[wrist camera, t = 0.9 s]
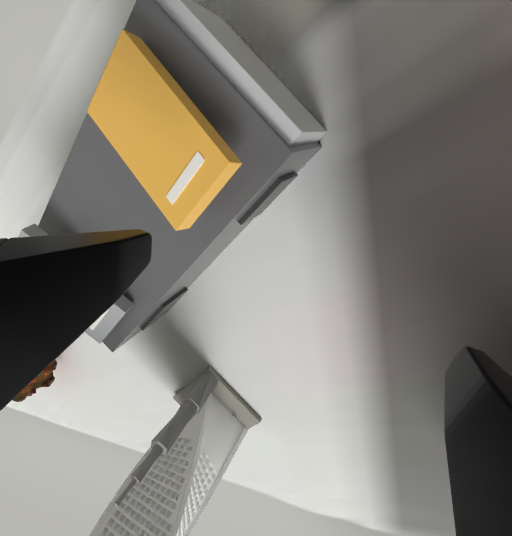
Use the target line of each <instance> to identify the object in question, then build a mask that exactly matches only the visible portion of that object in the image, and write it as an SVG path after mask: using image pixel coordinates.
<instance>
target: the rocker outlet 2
mask: <svg viewBox="0 0 512 536" xmlns="http://www.w3.org/2000/svg"><path fill="white" fill-rule="evenodd" d="M87 112H88V114H89V115H90V116H91V118H92V119H93V120H94V122H95V123H96V124H97V126H98V127H99V128H100V130H101V131H102V132H103V134H104V135H105V136H106V138H107V139H108V140H109V142H110V143H111V145H112V146H113V147H114V149H115V150H116V151H117V153H118V154H119V155H120V157H121V158H122V159H123V161H124V162H125V163H126V165H127V166H128V167H129V169H130V170H131V171H132V173H133V174H134V175H135V177H136V178H137V179H138V181H139V182H140V184H141V185H142V186H143V188H144V189H145V190H146V192H147V193H148V194H149V196H150V197H151V198H152V200H153V201H154V202H155V204H156V205H157V206H158V208H159V209H160V210H161V212H162V213H163V214H164V216H165V217H166V218H167V220H168V221H169V223H170V224H171V225H172V227H173V228H174V229H175V231H178V230H183V229H188V228H190V227H191V226H192V225H193V223H194V222H195V221H196V220H197V219H198V217H199V216H200V215H201V214H202V212H203V211H204V210H205V209H206V207H207V206H208V205H209V204H210V203H211V201H212V200H213V199H214V198H215V196H216V195H217V194H218V193H219V192H220V190H221V189H222V188H223V187H224V185H225V184H226V183H227V182H228V180H229V179H230V178H231V177H232V176H233V174H234V173H235V172H236V171H237V169H238V168H239V167H240V166H241V165H242V162H241V161H240V160H239V159H238V157H237V156H236V155H235V154H234V152H233V151H232V150H231V149H230V147H229V146H228V145H227V144H226V143H225V141H224V140H223V139H222V138H221V136H220V135H219V134H218V133H217V131H216V130H215V129H214V128H213V127H212V125H211V124H210V123H209V122H208V120H207V119H206V118H205V117H204V115H203V114H202V113H201V112H200V110H199V109H198V108H197V107H196V106H195V104H194V103H193V102H192V101H191V99H190V98H189V97H188V96H187V94H186V93H185V92H184V91H183V90H182V88H181V87H180V86H179V85H178V83H177V82H176V81H175V80H174V78H173V77H172V76H171V75H170V73H169V72H168V71H167V70H166V69H165V67H164V66H163V65H162V64H161V62H160V61H159V60H158V59H157V57H156V56H155V55H154V54H153V53H152V51H151V50H150V49H149V48H148V46H147V45H146V44H145V43H144V41H143V40H142V39H141V38H140V37H138V36H136V35H134V34H132V33H130V32H128V31H126V30H124V29H122V31H121V33H120V36H119V38H118V40H117V42H116V45H115V47H114V49H113V52H112V54H111V56H110V59H109V61H108V63H107V66H106V68H105V70H104V72H103V75H102V77H101V79H100V82H99V84H98V86H97V89H96V91H95V93H94V96H93V98H92V100H91V103H90V105H89V107H88V109H87Z"/></svg>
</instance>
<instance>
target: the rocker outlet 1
mask: <svg viewBox="0 0 512 536" xmlns="http://www.w3.org/2000/svg"><path fill="white" fill-rule="evenodd" d="M46 235H48V234H47V233H46V232H44V231H43V230H42V229H41V228H39V227H38V226H37V225H36V224H33V225H31V226H29V227H26V228H24V229H22V230H21V232H20V235H19V237H32V236H46ZM133 305H134V303H132V302H131V301H130V300H129V299H127V298H126V297H125V296H124V295H122V296H121V297H120V298H119V299H118V300H117V301H116V302H115V303H114V304H113V305H112V306H111V307H110V308H109V309H108V310H107V311H106V312H105V313H104V314H103V315H102V316H101V317H99V318H98V319H97V320H96V321H95V322H94V323H93V324H92V325H91V326H90V327H89V328H88V329H87V330H86V331H85V332H86V333H87V334H88V335H89V336H91V337H92V338H93V339H95V340H96V341H97V342H99V343H101V342H102V341H103V340H104V339H105V338H106V337H107V336H108V335H109V333H110V332H111V331H112V330H113V329H114V327H115V326H116V325H117V324H118V323H119V321H120V320H121V319H122V318H123V317H124V316H125V314H126V313H127V312H128V311H129V310H130V308H131V307H132V306H133Z"/></svg>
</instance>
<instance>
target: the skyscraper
mask: <svg viewBox="0 0 512 536" xmlns="http://www.w3.org/2000/svg"><path fill="white" fill-rule="evenodd" d="M173 398H174V399H175V400H176V401H177V402H178V404H179V405H180V408H179V410H178V411H177V413H176V414H175V416H174V417H173V418H172V419H171V420H170V421H169V422H168V424H167V425H166V426H165V427H164V428H163V429H162V430H161V431H160V432H159V433H158V434H157V436H156V437H155V438H154V439H153V440H152V443H151V447H150V448H149V449H148V451H147V452H146V453H145V455H144V456H143V457H142V459H141V460H140V461H139V462H138V464H137V465H136V466H135V468H134V469H133V471H132V472H131V473H130V475H129V476H128V478H127V479H126V480H125V482H124V483H123V485H122V486H121V487H120V489H119V490H118V492H117V493H116V495H115V496H114V498H113V499H112V501H111V502H110V504H109V505H108V507H107V508H106V510H105V511H104V513H103V514H102V516H101V517H100V519H99V521H98V522H97V524H96V526H95V527H94V529H93V530H92V532H91V534H90V535H89V536H188V534H189V533H190V531H191V529H192V528H193V526H194V525H195V523H196V521H197V520H198V518H199V516H200V514H201V513H202V511H203V509H204V507H205V506H206V504H207V503H208V501H209V499H210V497H211V496H212V494H213V492H214V490H215V489H216V487H217V485H218V483H219V482H220V480H221V478H222V476H223V474H224V473H225V471H226V469H227V467H228V466H229V464H230V462H231V460H232V458H233V456H234V454H235V453H236V451H237V449H238V447H239V445H240V443H241V442H242V440H243V438H244V436H245V434H246V432H247V431H248V429H249V428H251V427H252V426H254V425H256V424H258V423H259V422H260V421H261V418H260V417H259V416H258V415H257V414H256V413H255V412H254V410H253V409H252V408H251V407H250V406H249V405H248V404H247V403H246V402H245V401H244V400H243V399H242V398H241V397H240V396H239V395H238V394H237V393H236V392H235V391H234V390H233V389H232V388H231V387H230V386H229V385H228V384H227V383H226V382H225V381H224V380H223V378H222V377H221V376H220V375H219V374H218V373H217V372H216V371H215V370H214V369H213V368H212V367H209V368H208V369H207V370H206V371H204V372H203V373H202V374H201V375H200V376H198V377H197V378H196V379H195V380H193V381H192V382H191V383H190V384H188V385H187V386H186V387H185V388H184V389H182V390H181V391H180V392H179V393H177V394H176V395H175V396H174V397H173Z"/></svg>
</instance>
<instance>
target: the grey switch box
mask: <svg viewBox="0 0 512 536" xmlns="http://www.w3.org/2000/svg"><path fill="white" fill-rule="evenodd" d="M124 30H126V31H128V32H130V33H132V34H134V35H136V36H138V37H140V38H141V39H142V40H143V41H144V43H145V44H146V45H147V46H148V48H149V49H150V50H151V51H152V53H153V54H154V55H155V56H156V57H157V59H158V60H159V61H160V62H161V64H162V65H163V66H164V67H165V69H166V70H167V71H168V72H169V73H170V75H171V76H172V77H173V78H174V80H175V81H176V82H177V83H178V85H179V86H180V87H181V88H182V90H183V91H184V92H185V93H186V94H187V96H188V97H189V98H190V99H191V101H192V102H193V103H194V104H195V106H196V107H197V108H198V109H199V110H200V112H201V113H202V114H203V115H204V117H205V118H206V119H207V120H208V122H209V123H210V124H211V125H212V127H213V128H214V129H215V130H216V131H217V133H218V134H219V135H220V136H221V138H222V139H223V140H224V141H225V143H226V144H227V145H228V146H229V147H230V149H231V150H232V151H233V152H234V154H235V155H236V156H237V157H238V159H239V160H240V161H241V162H242V165H241V166H240V167H239V168H238V169H237V171H236V172H235V173H234V174H233V176H232V177H231V178H230V179H229V180H228V182H227V183H226V184H225V185H224V187H223V188H222V189H221V190H220V192H219V193H218V194H217V195H216V196H215V198H214V199H213V200H212V201H211V203H210V204H209V205H208V206H207V207H206V209H205V210H204V211H203V212H202V214H201V215H200V216H199V217H198V219H197V220H196V221H195V222H194V223H193V225H192V226H191V227H190V228H188V229H183V230H178V231H175V229H174V228H173V227H172V225H171V224H170V223H169V221H168V220H167V218H166V217H165V216H164V214H163V213H162V212H161V210H160V209H159V208H158V206H157V205H156V204H155V202H154V201H153V200H152V198H151V197H150V196H149V194H148V193H147V192H146V190H145V189H144V188H143V186H142V185H141V184H140V182H139V181H138V179H137V178H136V177H135V175H134V174H133V173H132V171H131V170H130V169H129V167H128V166H127V165H126V163H125V162H124V161H123V159H122V158H121V157H120V155H119V154H118V153H117V151H116V150H115V149H114V147H113V146H112V145H111V143H110V142H109V140H108V139H107V138H106V136H105V135H104V134H103V132H102V131H101V130H100V128H99V127H98V126H97V124H96V123H95V122H94V120H93V119H92V118H91V116H90V115H89V114H88V113H87V116H86V118H85V120H84V122H83V125H82V127H81V129H80V132H79V134H78V136H77V138H76V141H75V143H74V145H73V148H72V150H71V152H70V155H69V157H68V159H67V161H66V164H65V166H64V168H63V171H62V173H61V175H60V177H59V180H58V182H57V184H56V187H55V189H54V191H53V193H52V196H51V198H50V200H49V203H48V205H47V207H46V210H45V212H44V214H43V216H42V219H41V221H40V223H39V226H38V227H39V228H41V229H42V230H43V231H44V232H46V233H47V234H48V235H60V234H74V233H88V232H102V231H116V230H130V229H140V230H143V231H146V232H149V233H150V234H151V236H152V254H151V261H150V263H149V265H148V266H147V267H146V268H145V269H144V271H143V272H142V273H141V274H140V275H139V276H138V278H137V279H136V280H135V281H134V282H133V283H132V285H131V286H130V287H129V288H128V289H127V291H126V292H125V293H124V294H123V295H124V296H125V297H126V298H127V299H129V300H130V301H131V302H132V303H134V305H133V306H132V307H131V308H130V310H129V311H128V312H127V313H126V314H125V316H124V317H123V318H122V319H121V320H120V321H119V323H118V324H117V325H116V326H115V327H114V329H113V330H112V331H111V332H110V333H109V335H108V336H107V337H106V338H105V339H104V340H103V341H102V342H103V343H104V344H105V345H106V346H107V347H108V348H109V349H110V350H111V351H112V352H114V351H115V350H116V349H117V348H119V347H120V346H121V345H123V344H124V343H125V342H127V341H128V340H129V339H130V338H132V337H133V336H134V335H136V334H137V333H138V332H139V331H141V330H142V331H143V330H144V329H145V328H147V327H148V326H149V325H150V324H152V323H153V322H154V321H156V320H157V319H158V318H159V317H161V316H162V315H163V314H165V313H166V312H167V311H168V310H169V309H170V308H171V307H172V306H173V305H174V304H175V303H176V302H177V301H178V300H179V299H180V298H181V296H182V295H183V294H184V293H185V292H186V291H187V290H188V289H187V288H188V287H189V286H190V285H191V284H192V283H193V282H194V280H195V279H196V278H197V277H198V276H199V275H200V274H201V273H202V272H203V271H204V270H205V269H206V268H207V267H208V266H209V265H210V264H211V263H212V262H213V261H214V259H215V258H216V257H217V256H218V255H219V254H220V253H221V252H222V251H223V250H224V249H225V248H226V247H227V246H228V245H229V244H230V243H231V242H232V241H233V239H234V238H235V237H236V236H237V235H238V234H239V233H240V232H241V231H242V230H243V229H244V228H245V227H246V226H247V225H248V224H249V223H250V222H251V221H252V220H253V218H254V217H256V216H258V215H259V214H261V213H262V212H263V211H264V210H265V209H266V208H267V207H268V206H269V205H270V204H271V203H272V201H273V200H274V199H275V198H276V197H277V196H278V195H279V194H280V193H281V192H282V191H283V190H284V189H285V188H286V187H287V186H288V185H289V184H290V183H291V182H292V181H293V180H294V178H295V177H296V176H297V175H298V174H297V172H298V171H299V170H300V169H301V168H302V167H303V166H304V165H305V164H306V163H307V162H308V161H309V160H310V159H311V157H312V156H313V155H314V154H315V153H316V152H317V151H318V150H319V149H320V148H321V147H322V146H321V145H320V144H319V143H318V141H319V140H320V139H321V138H322V137H323V135H324V134H325V133H326V132H327V131H326V130H325V129H324V128H323V127H322V126H321V125H320V123H319V122H318V121H317V120H316V119H315V118H314V117H313V116H312V115H311V114H310V113H309V112H308V110H307V109H306V108H305V107H304V106H303V105H302V104H301V103H300V102H299V101H298V100H297V99H296V97H295V96H294V95H293V94H292V93H291V92H290V91H289V90H288V89H287V88H286V87H285V86H284V84H283V83H282V82H281V81H280V80H279V79H278V78H277V77H276V76H275V75H274V74H273V72H272V71H271V70H270V69H269V68H268V67H267V66H266V65H265V64H264V63H263V62H262V61H261V59H260V58H259V57H258V56H257V55H256V54H255V53H254V52H253V51H252V50H251V49H250V48H249V46H248V45H247V44H246V43H245V42H244V41H243V40H242V39H241V38H240V37H239V36H238V35H237V33H236V32H235V31H234V30H233V29H232V28H231V27H230V26H229V25H228V24H227V23H226V22H225V20H223V19H222V18H220V17H218V16H217V15H215V14H214V13H212V12H211V11H209V10H207V9H206V8H204V7H203V6H201V5H199V4H198V3H196V2H195V1H193V0H137V1H136V3H135V6H134V8H133V10H132V12H131V15H130V17H129V19H128V22H127V24H126V26H125V28H124Z"/></svg>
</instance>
